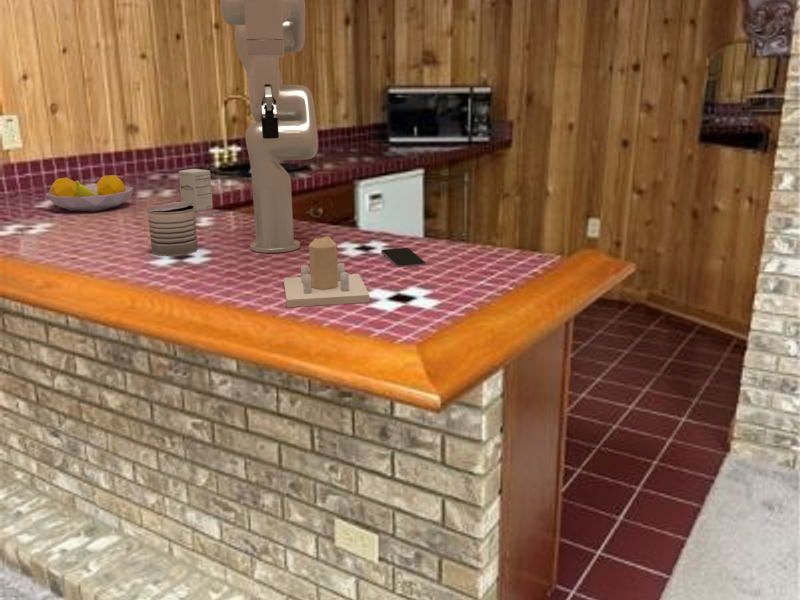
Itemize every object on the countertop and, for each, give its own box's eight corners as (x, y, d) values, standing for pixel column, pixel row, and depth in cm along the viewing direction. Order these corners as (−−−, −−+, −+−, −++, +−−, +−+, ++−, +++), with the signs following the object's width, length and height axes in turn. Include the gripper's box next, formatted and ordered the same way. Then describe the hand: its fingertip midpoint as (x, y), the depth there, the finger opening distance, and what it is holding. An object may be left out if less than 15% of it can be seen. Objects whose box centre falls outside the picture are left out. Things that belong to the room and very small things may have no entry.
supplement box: (181, 209, 244) (177, 170, 241) (198, 206, 250) (195, 168, 246) (196, 211, 240) (192, 172, 237) (213, 208, 246) (210, 169, 242)
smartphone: (397, 266, 171) (380, 249, 184) (397, 270, 171) (380, 254, 185) (427, 263, 173) (408, 247, 186) (427, 268, 173) (408, 251, 187)
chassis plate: (284, 284, 157) (282, 261, 156) (358, 280, 160) (358, 258, 159) (287, 307, 142) (285, 282, 141) (369, 302, 145) (369, 277, 144)
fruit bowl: (76, 201, 262) (71, 168, 258) (148, 202, 258) (145, 169, 255) (27, 215, 235) (21, 180, 232) (107, 217, 232) (103, 181, 228)
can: (185, 257, 181) (180, 208, 178) (142, 255, 184) (137, 207, 180) (206, 246, 192) (202, 200, 188) (165, 245, 194) (161, 199, 191)
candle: (326, 280, 155) (324, 233, 152) (343, 285, 151) (342, 237, 148) (305, 285, 151) (303, 237, 148) (322, 291, 147) (320, 241, 144)
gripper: (246, 51, 157) (252, 133, 162) (245, 48, 141) (251, 140, 146) (282, 50, 158) (286, 132, 164) (285, 48, 142) (290, 139, 147)
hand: (270, 136), depth 155 cm, fingers open, 9 cm apart
